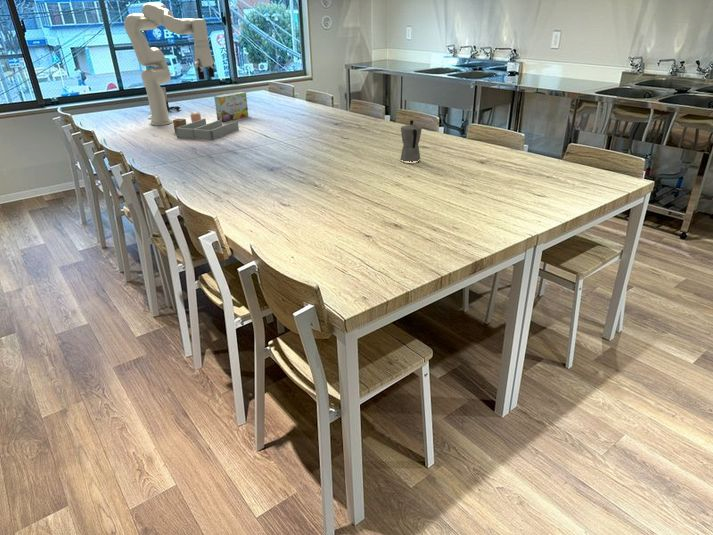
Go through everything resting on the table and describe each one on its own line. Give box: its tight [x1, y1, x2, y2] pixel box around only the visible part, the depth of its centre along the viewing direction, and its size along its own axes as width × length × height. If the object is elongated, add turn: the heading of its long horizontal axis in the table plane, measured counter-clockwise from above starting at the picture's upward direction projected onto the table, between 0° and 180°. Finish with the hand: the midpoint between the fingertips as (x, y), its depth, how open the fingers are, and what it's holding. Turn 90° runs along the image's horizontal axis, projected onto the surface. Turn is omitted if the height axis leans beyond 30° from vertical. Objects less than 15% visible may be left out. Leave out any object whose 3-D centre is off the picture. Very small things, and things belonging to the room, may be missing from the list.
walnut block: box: [172, 118, 187, 134], centre depth 277 cm, size 5×5×7 cm
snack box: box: [213, 91, 249, 123], centre depth 306 cm, size 21×6×15 cm, turn 143°
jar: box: [190, 111, 202, 123], centre depth 290 cm, size 6×6×8 cm
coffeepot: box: [399, 119, 423, 162], centre depth 215 cm, size 15×9×18 cm, turn 6°
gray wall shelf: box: [175, 118, 240, 141], centre depth 274 cm, size 23×26×5 cm
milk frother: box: [160, 86, 181, 112], centre depth 334 cm, size 14×16×15 cm
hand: (207, 78), depth 272 cm, fingers open, 9 cm apart
